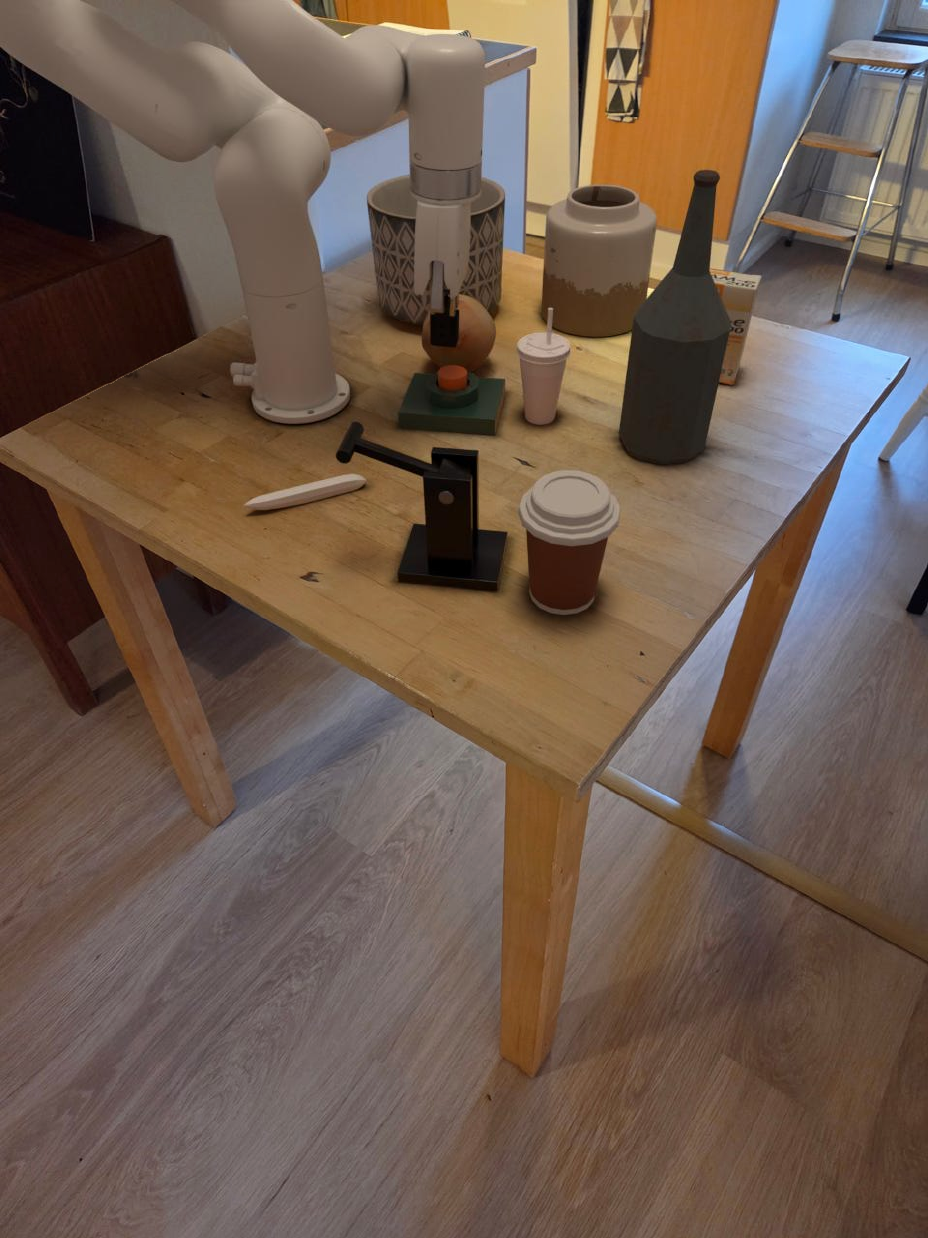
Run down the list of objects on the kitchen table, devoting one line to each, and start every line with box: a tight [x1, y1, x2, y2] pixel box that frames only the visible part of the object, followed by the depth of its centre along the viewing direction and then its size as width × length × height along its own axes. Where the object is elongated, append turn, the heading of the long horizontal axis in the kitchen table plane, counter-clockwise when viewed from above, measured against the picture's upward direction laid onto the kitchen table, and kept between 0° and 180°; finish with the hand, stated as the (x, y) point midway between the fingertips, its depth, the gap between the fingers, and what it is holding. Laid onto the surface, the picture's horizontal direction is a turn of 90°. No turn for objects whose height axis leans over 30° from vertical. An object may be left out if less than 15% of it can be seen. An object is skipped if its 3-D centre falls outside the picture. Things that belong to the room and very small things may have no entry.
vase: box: [541, 184, 658, 338], centre depth 121 cm, size 15×15×17 cm
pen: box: [242, 473, 367, 511], centre depth 94 cm, size 2×14×2 cm, turn 114°
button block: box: [397, 371, 506, 436], centre depth 106 cm, size 12×10×4 cm
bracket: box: [396, 446, 509, 592], centre depth 82 cm, size 10×8×12 cm
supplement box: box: [710, 267, 762, 386], centre depth 109 cm, size 8×5×13 cm, turn 68°
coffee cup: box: [517, 469, 622, 616], centre depth 79 cm, size 9×9×12 cm
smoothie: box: [516, 308, 571, 425], centre depth 101 cm, size 6×6×14 cm
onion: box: [421, 294, 497, 373], centre depth 112 cm, size 10×10×10 cm
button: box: [437, 365, 467, 391], centre depth 104 cm, size 4×4×2 cm
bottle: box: [618, 169, 731, 466], centre depth 91 cm, size 10×10×30 cm
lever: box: [335, 421, 471, 478], centre depth 79 cm, size 12×5×2 cm, turn 81°
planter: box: [366, 174, 506, 326], centre depth 123 cm, size 19×19×16 cm
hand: (444, 343), depth 101 cm, fingers closed
